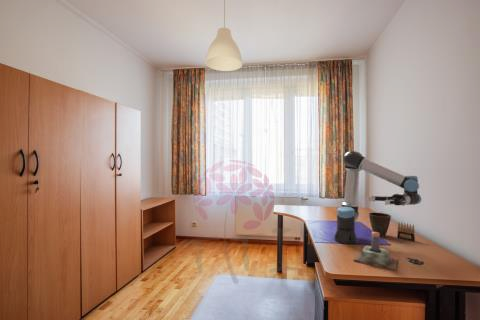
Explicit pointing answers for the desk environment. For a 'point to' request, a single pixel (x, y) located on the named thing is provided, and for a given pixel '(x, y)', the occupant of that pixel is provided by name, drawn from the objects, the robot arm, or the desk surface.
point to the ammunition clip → (406, 232)
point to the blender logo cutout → (415, 261)
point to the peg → (375, 241)
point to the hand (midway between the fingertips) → (375, 200)
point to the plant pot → (380, 222)
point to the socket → (376, 258)
